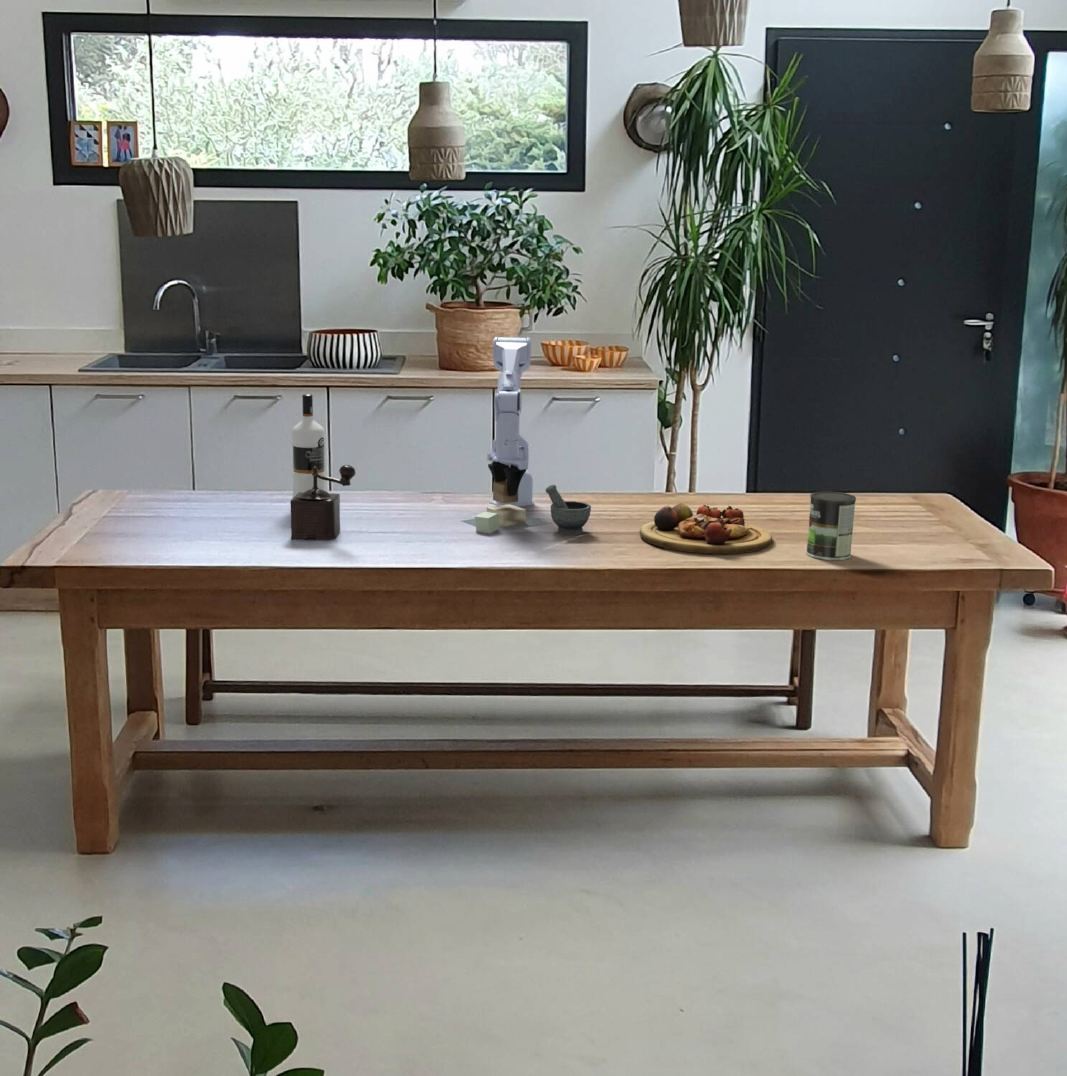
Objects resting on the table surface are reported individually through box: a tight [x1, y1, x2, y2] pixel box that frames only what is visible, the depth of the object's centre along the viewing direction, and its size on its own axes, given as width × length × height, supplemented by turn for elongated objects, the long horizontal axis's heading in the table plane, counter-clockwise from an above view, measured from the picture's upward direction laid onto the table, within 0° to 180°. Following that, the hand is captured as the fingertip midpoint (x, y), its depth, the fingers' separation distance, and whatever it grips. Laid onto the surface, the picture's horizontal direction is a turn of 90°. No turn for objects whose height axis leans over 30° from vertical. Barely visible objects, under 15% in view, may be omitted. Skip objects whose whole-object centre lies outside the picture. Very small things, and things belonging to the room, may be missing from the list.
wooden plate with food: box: [639, 501, 773, 555], centre depth 325 cm, size 32×32×8 cm
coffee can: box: [805, 491, 857, 562], centre depth 311 cm, size 10×10×14 cm
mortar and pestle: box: [545, 484, 592, 536], centre depth 327 cm, size 11×9×12 cm
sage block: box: [474, 511, 499, 534], centre depth 327 cm, size 4×4×4 cm
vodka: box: [291, 393, 327, 500], centre depth 343 cm, size 9×9×30 cm
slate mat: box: [461, 514, 552, 533], centre depth 337 cm, size 18×14×1 cm
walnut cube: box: [492, 481, 518, 503], centre depth 335 cm, size 4×4×4 cm
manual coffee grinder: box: [290, 464, 357, 541], centre depth 319 cm, size 16×11×18 cm
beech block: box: [486, 504, 527, 527], centre depth 337 cm, size 7×7×4 cm
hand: (506, 493), depth 335 cm, fingers closed on walnut cube, 4 cm apart
